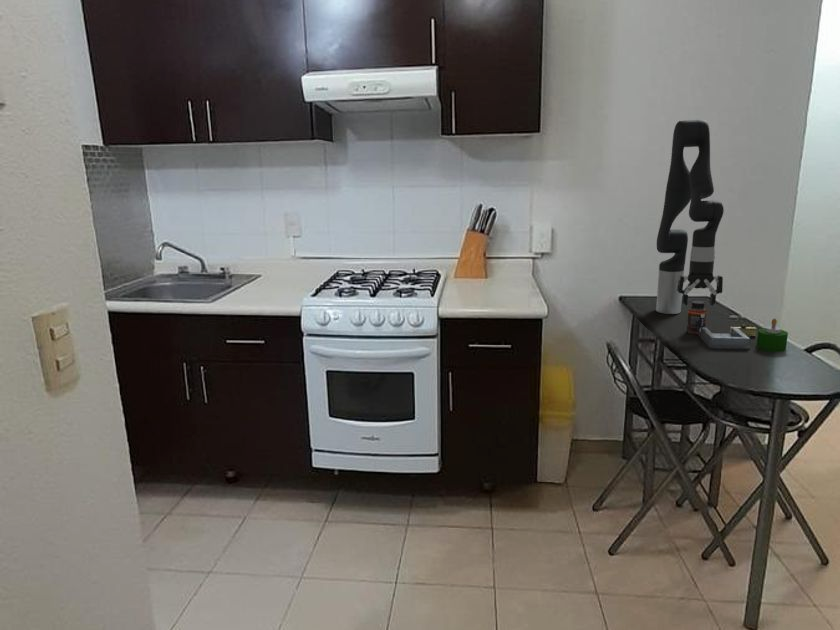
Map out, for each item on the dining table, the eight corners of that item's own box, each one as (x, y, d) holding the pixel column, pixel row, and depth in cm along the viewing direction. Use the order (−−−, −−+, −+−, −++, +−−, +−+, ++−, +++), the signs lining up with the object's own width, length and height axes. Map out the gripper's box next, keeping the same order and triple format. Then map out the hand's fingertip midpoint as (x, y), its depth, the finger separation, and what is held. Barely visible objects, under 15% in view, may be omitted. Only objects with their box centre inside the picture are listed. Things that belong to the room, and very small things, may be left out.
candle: (759, 351, 188) (763, 321, 185) (753, 343, 196) (757, 314, 193) (788, 352, 185) (792, 322, 183) (782, 344, 193) (785, 315, 190)
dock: (698, 335, 205) (699, 326, 204) (735, 336, 203) (736, 326, 202) (710, 348, 192) (711, 338, 191) (749, 349, 190) (751, 338, 189)
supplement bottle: (706, 335, 206) (709, 304, 203) (688, 334, 207) (691, 303, 204) (702, 330, 211) (705, 300, 208) (684, 330, 213) (687, 299, 210)
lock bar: (729, 335, 205) (730, 324, 204) (754, 335, 204) (755, 324, 203) (730, 336, 204) (731, 325, 203) (755, 336, 202) (757, 325, 201)
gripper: (720, 257, 205) (716, 302, 208) (677, 257, 207) (674, 302, 211) (727, 260, 198) (723, 307, 201) (682, 260, 200) (679, 307, 204)
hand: (698, 304), depth 206 cm, fingers open, 8 cm apart
